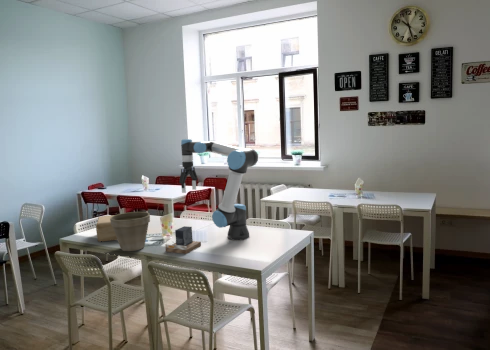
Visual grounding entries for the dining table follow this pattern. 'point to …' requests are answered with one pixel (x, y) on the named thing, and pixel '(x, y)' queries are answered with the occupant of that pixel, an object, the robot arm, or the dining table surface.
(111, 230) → the paper package
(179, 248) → the brown wooden slab
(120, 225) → the plant pot
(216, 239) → the dining table surface
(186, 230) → the small box
